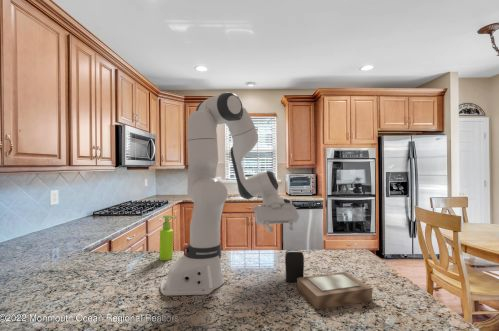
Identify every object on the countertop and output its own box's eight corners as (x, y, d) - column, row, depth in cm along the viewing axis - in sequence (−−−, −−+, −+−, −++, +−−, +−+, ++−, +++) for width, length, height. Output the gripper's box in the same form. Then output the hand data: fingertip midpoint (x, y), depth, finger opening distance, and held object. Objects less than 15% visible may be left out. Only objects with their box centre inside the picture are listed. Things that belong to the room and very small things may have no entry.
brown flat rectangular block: (317, 309, 72) (317, 295, 72) (297, 289, 84) (297, 276, 84) (372, 300, 77) (372, 287, 77) (345, 282, 90) (345, 271, 90)
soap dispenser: (170, 261, 110) (171, 217, 111) (156, 259, 112) (157, 216, 112) (176, 256, 116) (177, 215, 117) (163, 255, 117) (164, 214, 118)
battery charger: (302, 278, 93) (302, 248, 93) (304, 283, 89) (304, 252, 89) (284, 278, 93) (284, 248, 94) (285, 282, 89) (285, 251, 90)
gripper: (253, 201, 108) (260, 228, 99) (294, 200, 114) (304, 225, 104) (250, 209, 112) (256, 236, 103) (290, 208, 118) (300, 233, 108)
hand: (281, 230), depth 103 cm, fingers open, 8 cm apart
